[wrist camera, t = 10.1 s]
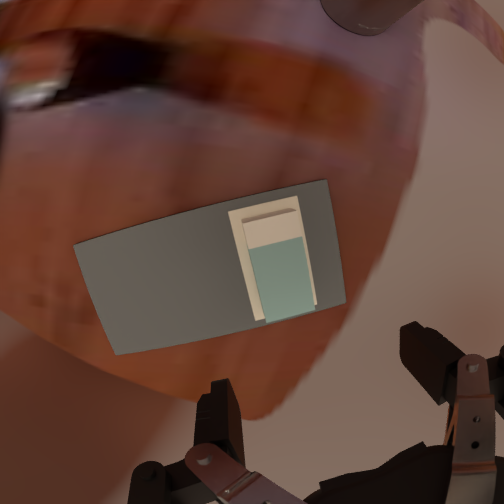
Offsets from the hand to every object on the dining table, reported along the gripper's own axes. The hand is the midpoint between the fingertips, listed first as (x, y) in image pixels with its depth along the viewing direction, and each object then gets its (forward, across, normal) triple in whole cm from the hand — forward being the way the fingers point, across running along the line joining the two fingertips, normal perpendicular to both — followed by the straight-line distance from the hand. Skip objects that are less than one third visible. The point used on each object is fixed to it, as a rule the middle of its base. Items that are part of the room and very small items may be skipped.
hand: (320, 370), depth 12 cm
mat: (+20, +6, 0) cm, 21 cm away
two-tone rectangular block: (+19, -1, +1) cm, 19 cm away
